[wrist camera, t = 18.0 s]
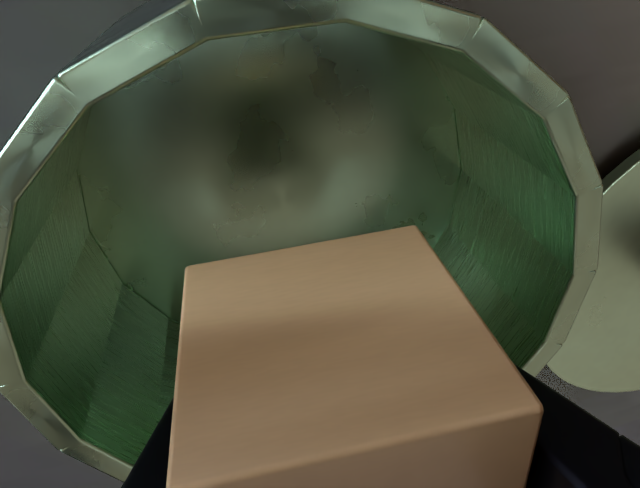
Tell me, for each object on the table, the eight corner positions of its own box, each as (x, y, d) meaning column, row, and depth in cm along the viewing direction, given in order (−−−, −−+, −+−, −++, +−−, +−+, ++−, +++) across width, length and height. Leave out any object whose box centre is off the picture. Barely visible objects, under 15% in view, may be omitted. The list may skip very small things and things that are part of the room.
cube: (414, 380, 12) (505, 582, 8) (230, 419, 11) (238, 652, 8) (416, 222, 9) (547, 407, 6) (183, 264, 9) (163, 493, 5)
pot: (461, 307, 20) (551, 444, 14) (134, 372, 18) (102, 548, 13) (491, -65, 13) (688, -65, 8) (-28, -4, 12) (-235, 48, 6)
